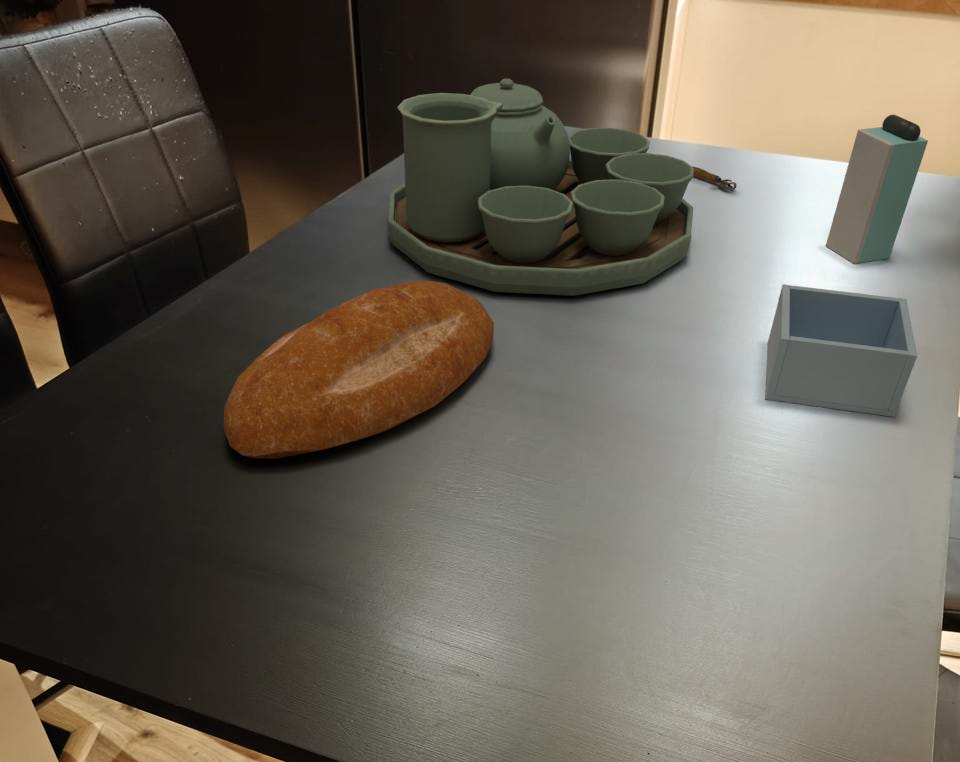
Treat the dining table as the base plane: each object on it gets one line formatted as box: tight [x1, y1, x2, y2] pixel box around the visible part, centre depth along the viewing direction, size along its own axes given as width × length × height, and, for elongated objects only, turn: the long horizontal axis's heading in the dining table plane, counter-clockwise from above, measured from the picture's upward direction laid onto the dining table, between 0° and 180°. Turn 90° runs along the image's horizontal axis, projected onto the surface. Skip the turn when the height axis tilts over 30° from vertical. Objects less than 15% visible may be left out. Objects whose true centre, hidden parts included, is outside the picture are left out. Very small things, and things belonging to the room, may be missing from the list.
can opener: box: [692, 166, 738, 191], centre depth 138 cm, size 9×2×1 cm, turn 34°
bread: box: [223, 280, 495, 460], centre depth 91 cm, size 18×35×9 cm, turn 142°
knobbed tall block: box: [825, 114, 929, 264], centre depth 116 cm, size 6×6×16 cm
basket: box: [764, 284, 918, 418], centre depth 96 cm, size 13×13×7 cm
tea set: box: [387, 78, 694, 297], centre depth 118 cm, size 40×40×16 cm
